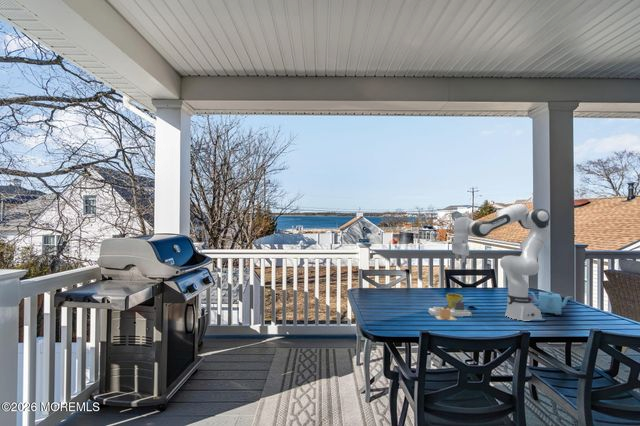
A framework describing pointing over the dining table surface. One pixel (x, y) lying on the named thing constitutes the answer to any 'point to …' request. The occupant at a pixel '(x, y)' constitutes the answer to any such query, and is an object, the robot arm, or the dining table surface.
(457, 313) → the power strip
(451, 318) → the cork mat
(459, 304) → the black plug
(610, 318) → the dining table surface
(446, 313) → the orange charger
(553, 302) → the teakettle
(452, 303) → the plant pot
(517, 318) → the robot arm
